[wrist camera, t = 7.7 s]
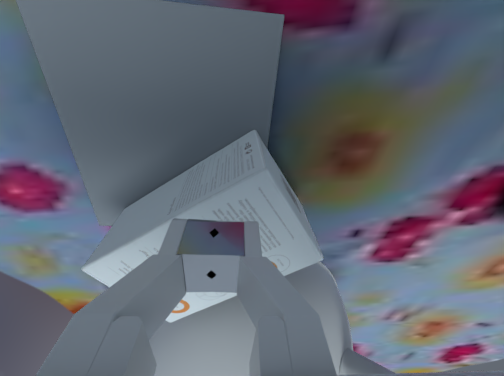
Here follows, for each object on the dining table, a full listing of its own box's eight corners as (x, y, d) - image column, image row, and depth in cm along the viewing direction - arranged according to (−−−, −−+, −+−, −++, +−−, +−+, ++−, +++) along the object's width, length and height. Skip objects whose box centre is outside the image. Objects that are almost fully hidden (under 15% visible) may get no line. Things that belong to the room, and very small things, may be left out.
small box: (256, 126, 15) (122, 206, 18) (268, 165, 10) (75, 271, 13) (301, 203, 19) (185, 260, 22) (327, 262, 14) (169, 326, 17)
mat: (19, -15, 11) (9, -18, 11) (282, 16, 13) (284, 14, 12) (103, 220, 20) (99, 225, 19) (256, 225, 21) (256, 229, 21)
